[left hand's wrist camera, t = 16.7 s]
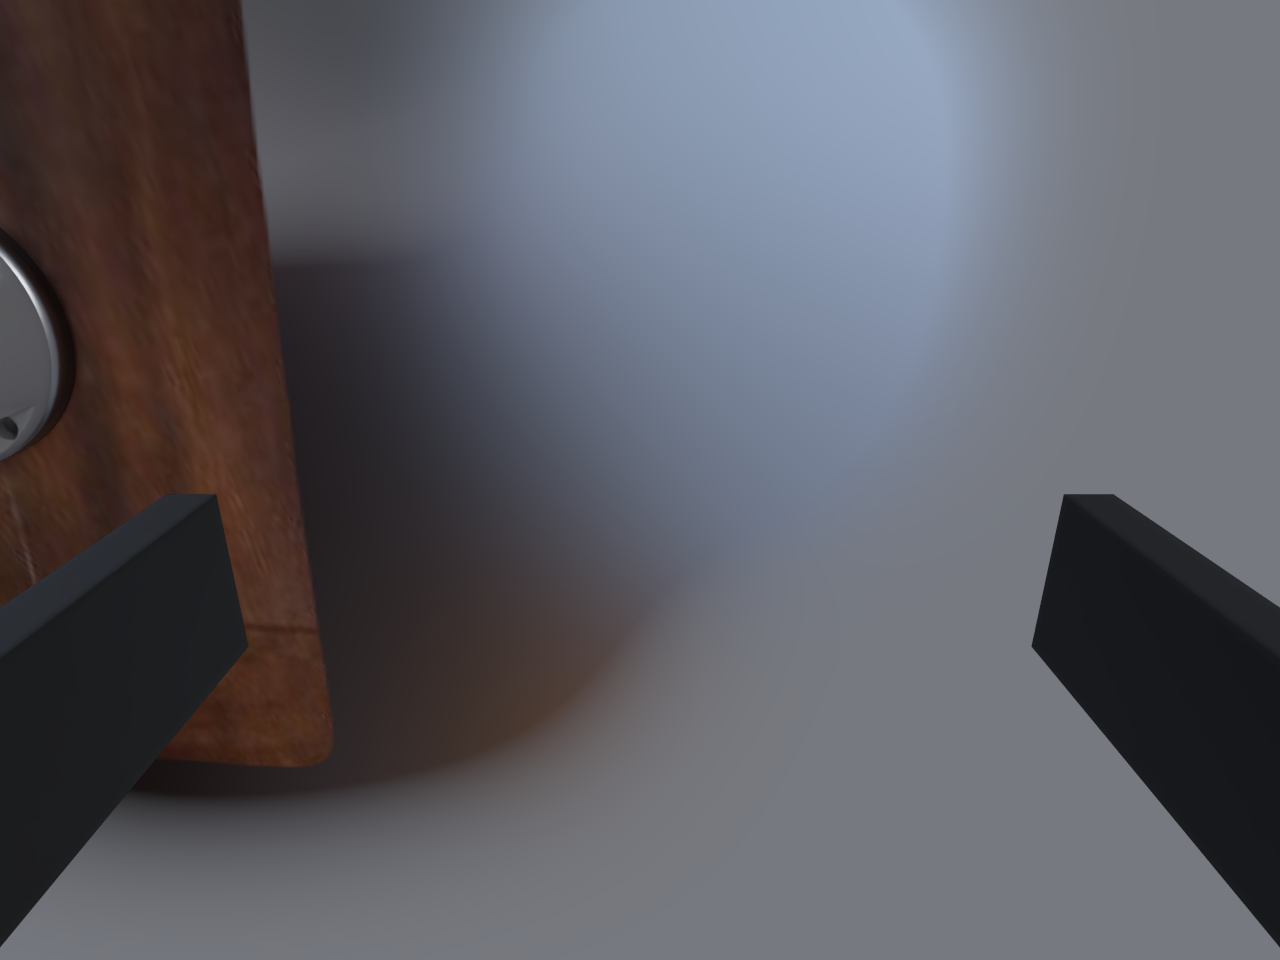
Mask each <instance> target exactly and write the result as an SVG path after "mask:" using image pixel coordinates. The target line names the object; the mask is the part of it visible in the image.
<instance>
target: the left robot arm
mask: <svg viewBox="0 0 1280 960" xmlns="http://www.w3.org/2000/svg"><path fill="white" fill-rule="evenodd" d="M73 379H74V350H73V344H72V338H71V333H70V330H69V326H68V323H67V320H66V317H65V315H64V312H63V309H62V307H61V305H60V303H59V301H58V298H57V296H56V294H55V292H54V291H53V289H52V287H51V286H50V284H49V282H48V280H47V279H46V278H45V276H44V275H43V273H42V272H41V270H40V269H39V267H38V266H37V265H36V264H35V262H34V261H33V260H32V259H31V258H30V256H29V255H28V254H27V253H26V252H25V251H24V250H23V249H22V248H21V246H20V245H19V244H18V243H17V242H16V241H15V240H14V239H12V238H11V237H10V236H9V235H8V234H7V233H6V232H5V231H4V230H2V229H1V228H0V461H1V460H3V459H6V458H8V457H10V456H12V455H14V454H17V453H19V452H21V451H23V450H25V449H27V448H29V447H31V446H32V445H34V444H35V443H37V442H38V441H40V440H41V439H42V438H43V437H44V436H46V435H47V434H48V433H49V431H50V430H51V429H52V428H53V427H54V426H55V424H56V423H57V422H58V420H59V419H60V417H61V416H62V414H63V412H64V410H65V408H66V406H67V403H68V400H69V398H70V394H71V390H72V386H73ZM247 648H248V642H247V637H246V633H245V628H244V623H243V619H242V614H241V609H240V605H239V600H238V595H237V590H236V586H235V581H234V576H233V572H232V567H231V562H230V558H229V553H228V548H227V543H226V539H225V534H224V529H223V525H222V520H221V515H220V511H219V506H218V501H217V496H216V494H166V495H165V496H163V497H162V498H161V499H159V500H158V501H156V502H155V503H153V504H152V505H150V506H149V507H147V508H146V509H144V510H143V511H141V512H140V513H139V514H137V515H136V516H134V517H133V518H131V519H130V520H128V521H127V522H125V523H124V524H122V525H121V526H119V527H118V528H116V529H115V530H114V531H112V532H111V533H109V534H108V535H106V536H105V537H103V538H102V539H100V540H99V541H97V542H96V543H94V544H93V545H92V546H90V547H89V548H87V549H86V550H84V551H83V552H81V553H80V554H78V555H77V556H75V557H74V558H72V559H71V560H69V561H68V562H67V563H65V564H64V565H62V566H61V567H59V568H58V569H56V570H55V571H53V572H52V573H50V574H49V575H47V576H46V577H45V578H43V579H42V580H40V581H39V582H37V583H36V584H34V585H33V586H31V587H30V588H28V589H27V590H25V591H24V592H22V593H21V594H20V595H18V596H17V597H15V598H14V599H12V600H11V601H9V602H8V603H6V604H5V605H3V606H2V607H0V947H1V946H2V944H3V943H4V942H5V941H6V940H7V938H8V937H9V936H10V935H11V934H12V932H13V931H14V930H15V929H16V927H17V926H18V925H19V924H20V923H21V921H22V920H23V919H24V918H25V916H26V915H27V914H28V913H29V912H30V910H31V909H32V908H33V907H34V906H35V904H36V903H37V902H38V901H39V900H40V898H41V897H42V896H43V895H44V893H45V892H46V891H47V890H48V889H49V887H50V886H51V885H52V884H53V883H54V881H55V880H56V879H57V878H58V877H59V875H60V874H61V873H62V872H63V870H64V869H65V868H66V867H67V866H68V864H69V863H70V862H71V861H72V860H73V858H74V857H75V856H76V855H77V854H78V852H79V851H80V850H81V849H82V847H83V846H84V845H85V844H86V843H87V841H88V840H89V839H90V838H91V837H92V835H93V834H94V833H95V832H96V831H97V829H98V828H99V827H100V826H101V824H102V823H103V822H104V821H105V820H106V818H107V817H108V816H109V815H110V814H111V812H112V811H113V810H114V809H115V808H116V806H117V805H118V804H119V803H120V801H121V800H122V799H123V798H124V797H125V795H126V794H127V793H128V792H129V791H130V789H131V788H132V787H133V786H134V784H135V783H136V782H137V781H138V780H139V778H140V777H141V776H142V775H143V774H144V772H145V771H146V770H147V769H148V768H149V766H150V765H151V764H152V763H153V761H154V760H155V759H156V758H157V757H158V755H159V754H160V753H161V752H162V751H163V749H164V748H165V747H166V746H167V744H168V743H169V742H170V741H171V740H172V738H173V737H174V736H175V735H176V734H177V732H178V731H179V730H180V729H181V728H182V726H183V725H184V724H185V723H186V721H187V720H188V719H189V718H190V717H191V715H192V714H193V713H194V712H195V711H196V709H197V708H198V707H199V706H200V705H201V703H202V702H203V701H204V700H205V698H206V697H207V696H208V695H209V694H210V692H211V691H212V690H213V689H214V688H215V686H216V685H217V684H218V683H219V681H220V680H221V679H222V678H223V677H224V675H225V674H226V673H227V672H228V671H229V669H230V668H231V667H232V666H233V665H234V663H235V662H236V661H237V660H238V658H239V657H240V656H241V655H242V654H243V652H244V651H245V650H246V649H247ZM1032 648H1033V649H1034V650H1035V651H1036V652H1037V654H1038V655H1039V656H1040V657H1041V658H1042V660H1043V661H1044V662H1045V663H1046V664H1047V666H1048V667H1049V668H1050V669H1051V671H1052V672H1053V673H1054V674H1055V675H1056V677H1057V678H1058V679H1059V680H1060V681H1061V683H1062V684H1063V685H1064V686H1065V688H1066V689H1067V690H1068V691H1069V692H1070V694H1071V695H1072V696H1073V697H1074V698H1075V700H1076V701H1077V702H1078V703H1079V704H1080V706H1081V707H1082V708H1083V709H1084V711H1085V712H1086V713H1087V714H1088V715H1089V717H1090V718H1091V719H1092V720H1093V721H1094V723H1095V724H1096V725H1097V726H1098V728H1099V729H1100V730H1101V731H1102V732H1103V734H1104V735H1105V736H1106V737H1107V738H1108V740H1109V741H1110V742H1111V743H1112V744H1113V746H1114V747H1115V748H1116V749H1117V751H1118V752H1119V753H1120V754H1121V755H1122V757H1123V758H1124V759H1125V760H1126V761H1127V763H1128V764H1129V765H1130V766H1131V767H1132V769H1133V770H1134V771H1135V772H1136V774H1137V775H1138V776H1139V777H1140V778H1141V780H1142V781H1143V782H1144V783H1145V784H1146V786H1147V787H1148V788H1149V789H1150V791H1151V792H1152V793H1153V794H1154V795H1155V797H1156V798H1157V799H1158V800H1159V801H1160V803H1161V804H1162V805H1163V806H1164V808H1165V809H1166V810H1167V811H1168V812H1169V814H1170V815H1171V816H1172V817H1173V818H1174V820H1175V821H1176V822H1177V823H1178V824H1179V826H1180V827H1181V828H1182V829H1183V831H1184V832H1185V833H1186V834H1187V835H1188V837H1189V838H1190V839H1191V840H1192V841H1193V843H1194V844H1195V845H1196V846H1197V847H1198V849H1199V850H1200V851H1201V852H1202V854H1203V855H1204V856H1205V857H1206V858H1207V860H1208V861H1209V862H1210V863H1211V864H1212V866H1213V867H1214V868H1215V869H1216V871H1217V872H1218V873H1219V874H1220V875H1221V877H1222V878H1223V879H1224V880H1225V881H1226V883H1227V884H1228V885H1229V886H1230V887H1231V889H1232V890H1233V891H1234V892H1235V894H1236V895H1237V896H1238V897H1239V898H1240V900H1241V901H1242V902H1243V903H1244V904H1245V906H1246V907H1247V908H1248V909H1249V910H1250V912H1251V913H1252V914H1253V915H1254V916H1255V918H1256V919H1257V920H1258V921H1259V923H1260V924H1261V925H1262V926H1263V927H1264V929H1265V930H1266V931H1267V932H1268V933H1269V935H1270V936H1271V937H1272V938H1273V940H1274V941H1275V942H1276V943H1277V944H1278V946H1279V947H1280V607H1278V606H1277V605H1275V604H1274V603H1272V602H1271V601H1269V600H1268V599H1266V598H1265V597H1263V596H1262V595H1260V594H1259V593H1257V592H1256V591H1255V590H1253V589H1252V588H1250V587H1249V586H1247V585H1246V584H1244V583H1243V582H1241V581H1240V580H1238V579H1237V578H1235V577H1234V576H1233V575H1231V574H1230V573H1228V572H1227V571H1225V570H1224V569H1222V568H1221V567H1219V566H1218V565H1216V564H1215V563H1213V562H1212V561H1210V560H1209V559H1208V558H1206V557H1205V556H1203V555H1202V554H1200V553H1199V552H1197V551H1196V550H1194V549H1193V548H1191V547H1190V546H1188V545H1187V544H1185V543H1184V542H1183V541H1181V540H1180V539H1178V538H1177V537H1175V536H1174V535H1172V534H1171V533H1169V532H1168V531H1166V530H1165V529H1163V528H1162V527H1161V526H1159V525H1158V524H1156V523H1155V522H1153V521H1152V520H1150V519H1149V518H1147V517H1146V516H1144V515H1143V514H1141V513H1140V512H1139V511H1137V510H1136V509H1134V508H1133V507H1131V506H1130V505H1128V504H1127V503H1125V502H1124V501H1122V500H1121V499H1119V498H1118V497H1116V496H1115V495H1114V494H1064V496H1063V501H1062V506H1061V511H1060V516H1059V520H1058V525H1057V529H1056V534H1055V539H1054V543H1053V548H1052V553H1051V558H1050V562H1049V567H1048V572H1047V576H1046V581H1045V586H1044V590H1043V595H1042V600H1041V605H1040V609H1039V614H1038V619H1037V624H1036V628H1035V633H1034V638H1033V642H1032Z"/></svg>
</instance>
